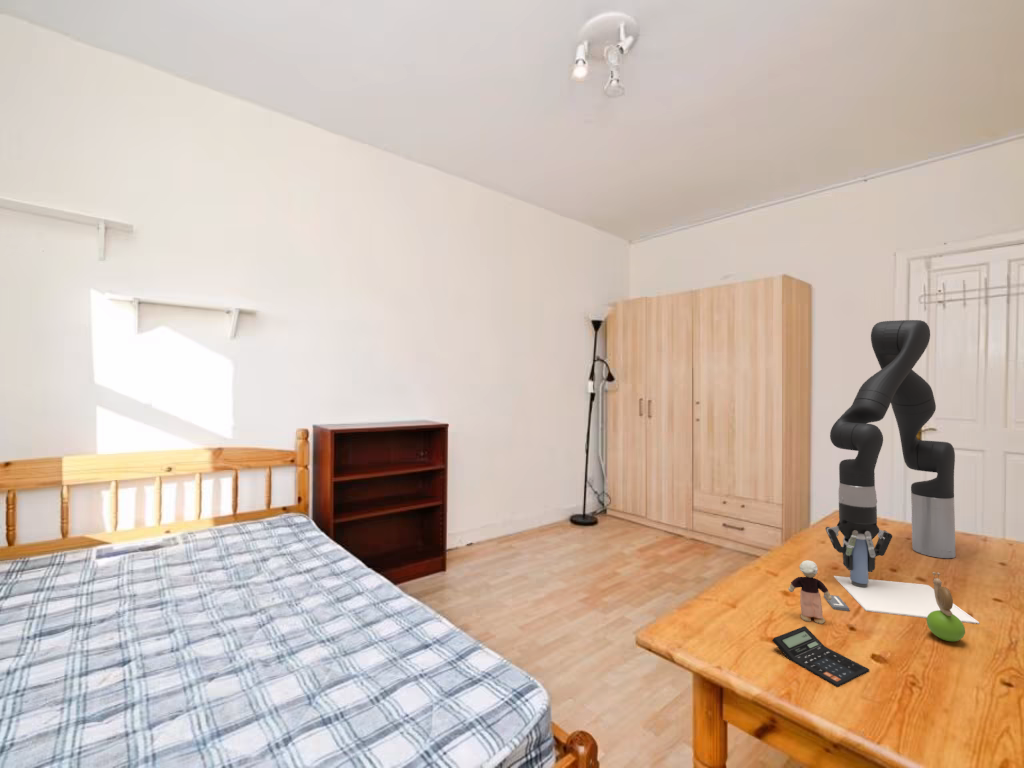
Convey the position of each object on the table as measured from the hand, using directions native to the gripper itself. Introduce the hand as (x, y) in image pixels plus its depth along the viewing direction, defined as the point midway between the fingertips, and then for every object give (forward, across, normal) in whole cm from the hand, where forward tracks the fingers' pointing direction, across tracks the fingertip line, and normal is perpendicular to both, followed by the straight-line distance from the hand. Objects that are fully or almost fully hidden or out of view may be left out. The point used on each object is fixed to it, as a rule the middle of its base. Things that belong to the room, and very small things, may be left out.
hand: (858, 569), depth 110 cm
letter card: (+4, +9, +12) cm, 15 cm away
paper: (+4, -6, +5) cm, 9 cm away
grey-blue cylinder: (+4, 0, 0) cm, 4 cm away
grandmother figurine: (+4, +17, +21) cm, 27 cm away
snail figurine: (+4, -6, +22) cm, 23 cm away
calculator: (+5, +20, +36) cm, 42 cm away
